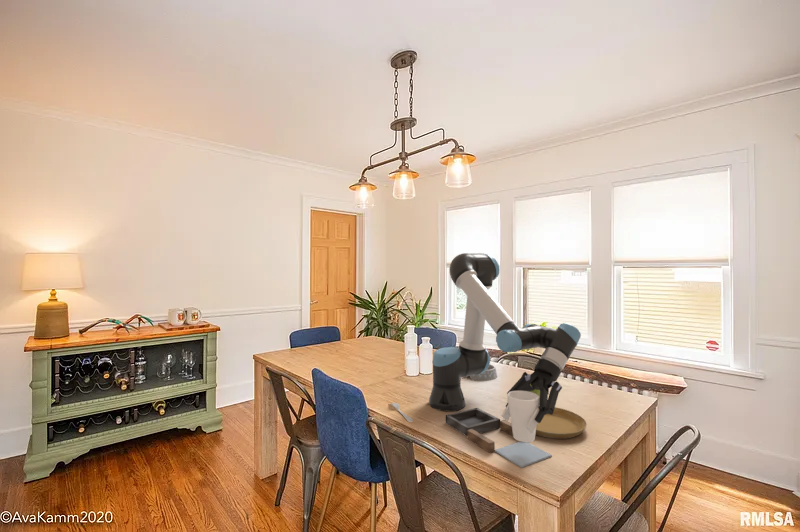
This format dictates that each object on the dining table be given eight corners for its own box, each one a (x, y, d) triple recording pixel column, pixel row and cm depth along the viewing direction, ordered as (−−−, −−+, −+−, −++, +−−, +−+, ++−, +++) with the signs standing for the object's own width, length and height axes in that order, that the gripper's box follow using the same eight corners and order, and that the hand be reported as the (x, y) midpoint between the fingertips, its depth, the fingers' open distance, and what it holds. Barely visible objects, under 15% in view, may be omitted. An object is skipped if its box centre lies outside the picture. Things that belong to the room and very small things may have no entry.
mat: (494, 451, 116) (494, 449, 116) (524, 441, 122) (524, 440, 122) (521, 467, 106) (521, 466, 106) (551, 456, 112) (551, 454, 112)
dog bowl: (483, 369, 210) (483, 360, 210) (504, 378, 193) (503, 368, 193) (457, 373, 203) (457, 363, 203) (476, 382, 186) (476, 372, 186)
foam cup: (506, 441, 111) (505, 398, 111) (509, 429, 120) (508, 389, 120) (539, 446, 108) (539, 402, 108) (540, 433, 116) (539, 392, 116)
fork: (408, 429, 139) (408, 422, 138) (386, 404, 157) (387, 398, 157) (414, 428, 140) (415, 421, 139) (392, 403, 158) (393, 397, 158)
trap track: (443, 423, 137) (443, 415, 137) (478, 414, 145) (478, 407, 145) (489, 452, 115) (489, 443, 115) (528, 440, 123) (528, 431, 123)
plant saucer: (550, 448, 118) (550, 438, 118) (501, 420, 140) (501, 411, 140) (602, 434, 128) (602, 424, 128) (549, 410, 150) (549, 401, 150)
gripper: (586, 380, 112) (552, 445, 104) (529, 364, 131) (497, 418, 123) (575, 365, 109) (539, 430, 101) (518, 351, 129) (485, 405, 121)
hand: (516, 424), depth 112 cm, fingers closed on foam cup, 9 cm apart
